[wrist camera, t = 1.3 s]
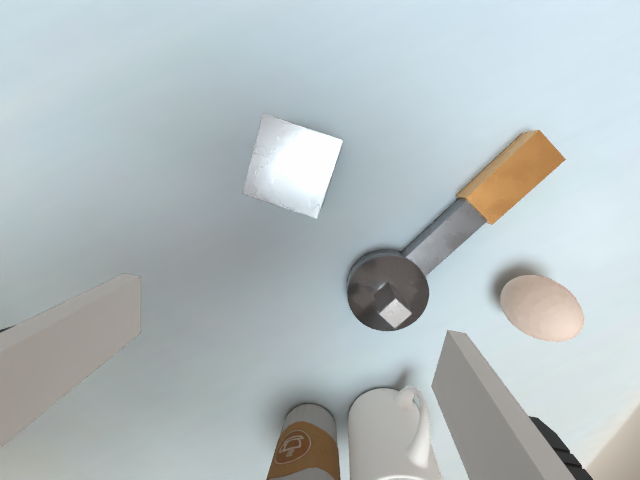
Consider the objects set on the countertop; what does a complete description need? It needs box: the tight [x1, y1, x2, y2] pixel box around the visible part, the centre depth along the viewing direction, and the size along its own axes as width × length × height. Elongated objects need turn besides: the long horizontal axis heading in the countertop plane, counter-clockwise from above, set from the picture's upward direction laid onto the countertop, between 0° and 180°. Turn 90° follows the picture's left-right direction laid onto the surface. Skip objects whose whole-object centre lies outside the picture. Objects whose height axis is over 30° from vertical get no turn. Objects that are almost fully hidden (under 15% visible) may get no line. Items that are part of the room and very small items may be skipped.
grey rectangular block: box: [242, 113, 343, 219], centre depth 26 cm, size 6×6×8 cm
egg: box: [500, 275, 584, 342], centre depth 28 cm, size 6×6×8 cm
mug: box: [348, 386, 443, 480], centre depth 31 cm, size 9×12×11 cm
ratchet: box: [347, 130, 566, 331], centre depth 27 cm, size 8×24×6 cm, turn 137°
